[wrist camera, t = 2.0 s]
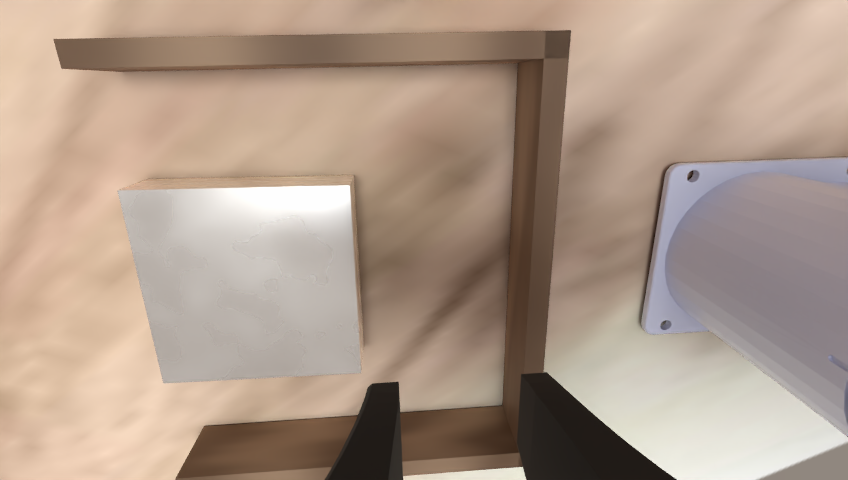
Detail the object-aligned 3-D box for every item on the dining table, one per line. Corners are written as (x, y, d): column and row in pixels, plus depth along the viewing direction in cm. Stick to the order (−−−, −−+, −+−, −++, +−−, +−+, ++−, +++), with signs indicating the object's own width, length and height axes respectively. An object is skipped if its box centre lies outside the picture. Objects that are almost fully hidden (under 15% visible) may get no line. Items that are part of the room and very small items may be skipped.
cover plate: (354, 172, 18) (349, 185, 16) (364, 340, 21) (361, 373, 18) (153, 176, 18) (117, 190, 15) (189, 348, 20) (163, 383, 18)
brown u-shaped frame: (540, 39, 17) (570, 30, 14) (517, 417, 22) (535, 465, 20) (114, 47, 16) (53, 39, 13) (207, 439, 21) (179, 493, 19)
